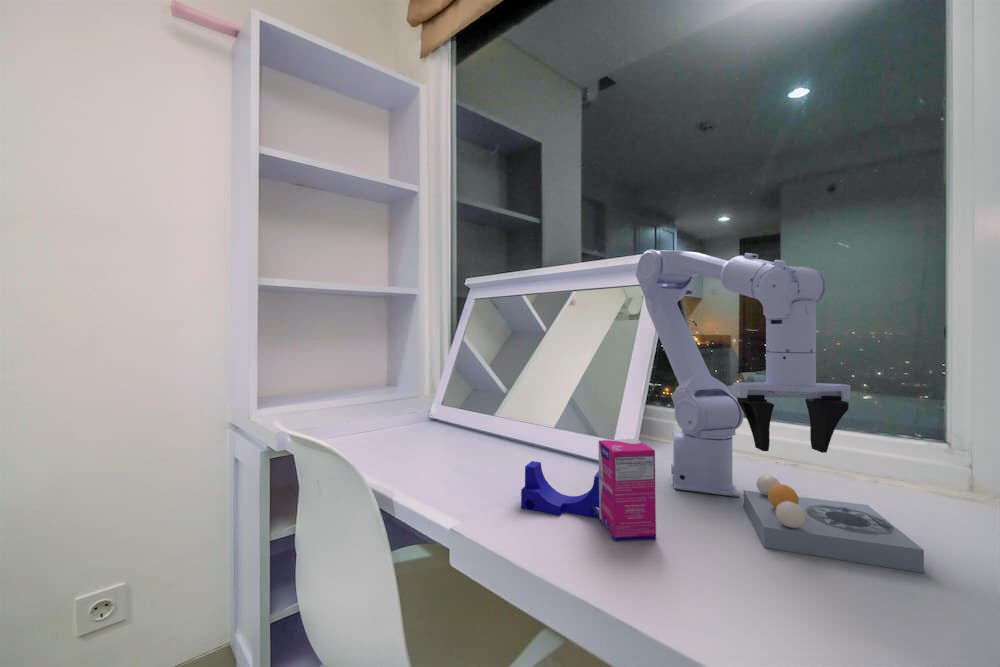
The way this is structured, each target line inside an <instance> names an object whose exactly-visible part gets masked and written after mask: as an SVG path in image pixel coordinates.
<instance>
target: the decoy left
mask: <svg viewBox="0 0 1000 667" xmlns="http://www.w3.org/2000/svg"><path fill="white" fill-rule="evenodd" d="M777 484H781V483H780V481H779V479H778V478H777V477H775V476H773V475H771V474H762V475H760V476H758V478H757V479H756V489H757V490H758V492H761V493H762V494H764V495H766V496H768V491H769V489H770V488H771V487H772V486H774V485H777Z"/></svg>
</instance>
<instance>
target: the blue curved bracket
mask: <svg viewBox="0 0 1000 667" xmlns="http://www.w3.org/2000/svg"><path fill="white" fill-rule="evenodd" d="M593 477H594V478H593V484H592V487H591V489H590V490H588V491H587V492H585V493H583V494H580V495H566V494H563V493H561V492H559V491H557V490H556V489H555V488H553V487H552V486H551V485H550V484H549V482H548V480H547V479H546V478H545V475H544V473H543V469H542V462H540V461H534V460H533V461H530V462H528V463H527V464H526V465H525V466H524V486H523V487H522V488H521V490H520V497H521V498H520V509H521V510H522V509H523V510H527V511H532V512H536V513H543V514H546V515H547V514H548V515H551V516H552V515H553V516H559V517H561V516H562V515H563V513H566V514H572V515H578V516H583V517H587V518H593V519H599V470H597V472H596V473H595V474H594V476H593Z"/></svg>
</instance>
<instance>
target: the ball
mask: <svg viewBox="0 0 1000 667" xmlns="http://www.w3.org/2000/svg"><path fill="white" fill-rule="evenodd" d="M798 497H799V496H798V493H797V492H796V490H794V488H792V487H791V486H788V485H786V484H783V483H780V484H777V485H774V486H772V487H771V488H770V489H769V491H768V499H769V501H770V503H771V504H772V506H774V507H775V508H776V507H777V506H778V504H780V503H781V502H784V501H790V502H794V503H796V504H797V505H798V502H799V499H798Z"/></svg>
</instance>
